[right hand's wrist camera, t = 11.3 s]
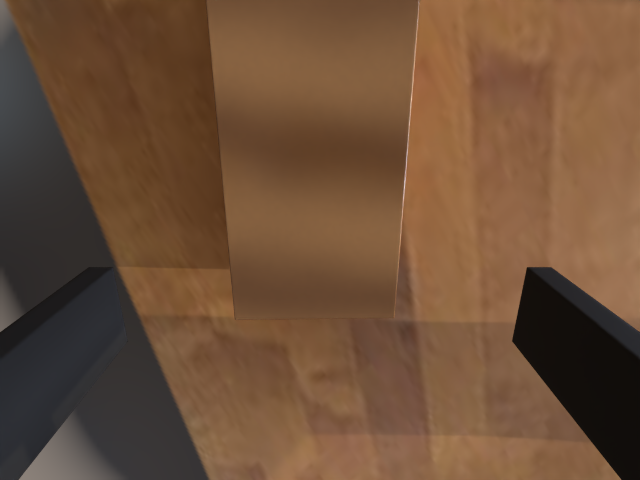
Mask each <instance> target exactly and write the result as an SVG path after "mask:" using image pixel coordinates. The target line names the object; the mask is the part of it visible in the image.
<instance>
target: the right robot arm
mask: <svg viewBox="0 0 640 480" xmlns="http://www.w3.org/2000/svg"><path fill="white" fill-rule="evenodd" d="M127 342H128V339H127V334H126V329H125V325H124V320H123V315H122V310H121V305H120V300H119V295H118V290H117V285H116V280H115V275H114V270H113V267H89V268H87V269H86V270H85V271H83V272H82V273H80V274H79V275H78V276H76V277H75V278H74V279H72V280H71V281H70V282H68V283H67V284H65V285H64V286H63V287H61V288H60V289H59V290H57V291H56V292H55V293H53V294H52V295H50V296H49V297H48V298H46V299H45V300H44V301H42V302H41V303H40V304H38V305H37V306H35V307H34V308H33V309H31V310H30V311H29V312H27V313H26V314H25V315H23V316H22V317H20V318H19V319H18V320H16V321H15V322H14V323H12V324H11V325H10V326H8V327H7V328H5V329H4V330H3V331H1V332H0V480H19V478H20V477H21V476H22V475H23V473H24V472H25V471H26V469H27V468H28V467H29V466H30V464H31V463H32V462H33V461H34V459H35V458H36V457H37V456H38V454H39V453H40V452H41V451H42V449H43V448H44V447H45V445H46V444H47V443H48V442H49V440H50V439H51V438H52V437H53V435H54V434H55V433H56V432H57V430H58V429H59V428H60V426H61V425H62V424H63V423H64V421H65V420H66V419H67V418H68V416H69V415H70V414H71V413H72V411H73V410H74V409H75V407H76V406H77V405H78V404H79V402H80V401H81V400H82V399H83V397H84V396H85V395H86V393H87V392H88V391H89V390H90V388H91V387H92V386H93V385H94V383H95V382H96V381H97V380H98V378H99V377H100V376H101V375H102V373H103V372H104V371H105V369H106V368H107V367H108V366H109V364H110V363H111V362H112V361H113V359H114V358H115V357H116V356H117V354H118V353H119V352H120V350H121V349H122V348H123V347H124V345H125V344H126V343H127ZM512 342H513V343H514V344H515V345H516V347H517V348H518V349H519V350H520V352H521V353H522V354H523V356H524V357H525V358H526V359H527V361H528V362H529V363H530V364H531V366H532V367H533V368H534V369H535V371H536V372H537V373H538V375H539V376H540V377H541V378H542V380H543V381H544V382H545V383H546V385H547V386H548V387H549V388H550V390H551V391H552V392H553V394H554V395H555V396H556V397H557V399H558V400H559V401H560V402H561V404H562V405H563V406H564V407H565V409H566V410H567V411H568V413H569V414H570V415H571V416H572V418H573V419H574V420H575V421H576V423H577V424H578V425H579V426H580V428H581V429H582V430H583V432H584V433H585V434H586V435H587V437H588V438H589V439H590V440H591V442H592V443H593V444H594V445H595V447H596V448H597V449H598V451H599V452H600V453H601V454H602V456H603V457H604V458H605V459H606V461H607V462H608V463H609V464H610V466H611V467H612V468H613V470H614V471H615V472H616V473H617V475H618V476H619V477H620V478H621V480H640V332H639V331H637V330H636V329H635V328H633V327H632V326H630V325H629V324H628V323H626V322H625V321H624V320H622V319H621V318H620V317H618V316H617V315H615V314H614V313H613V312H611V311H610V310H609V309H607V308H606V307H605V306H603V305H602V304H600V303H599V302H598V301H596V300H595V299H594V298H592V297H591V296H590V295H588V294H587V293H585V292H584V291H583V290H581V289H580V288H579V287H577V286H576V285H575V284H573V283H572V282H570V281H569V280H568V279H566V278H565V277H564V276H562V275H561V274H560V273H558V272H557V271H555V270H554V269H553V268H551V267H527V270H526V275H525V280H524V285H523V290H522V295H521V300H520V305H519V310H518V315H517V320H516V325H515V329H514V334H513V339H512Z"/></svg>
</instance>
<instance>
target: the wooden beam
mask: <svg viewBox="0 0 640 480" xmlns="http://www.w3.org/2000/svg"><path fill="white" fill-rule="evenodd" d="M419 4H420V0H206V8H207V19H208V30H209V41H210V52H211V63H212V74H213V85H214V96H215V107H216V118H217V129H218V140H219V151H220V162H221V173H222V184H223V194H224V205H225V216H226V227H227V238H228V249H229V260H230V271H231V282H232V293H233V304H234V315H235V320H266V319H358V318H394V316H395V303H396V291H397V278H398V266H399V253H400V241H401V228H402V216H403V203H404V191H405V178H406V166H407V153H408V141H409V128H410V116H411V103H412V91H413V78H414V66H415V53H416V41H417V29H418V16H419Z"/></svg>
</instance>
